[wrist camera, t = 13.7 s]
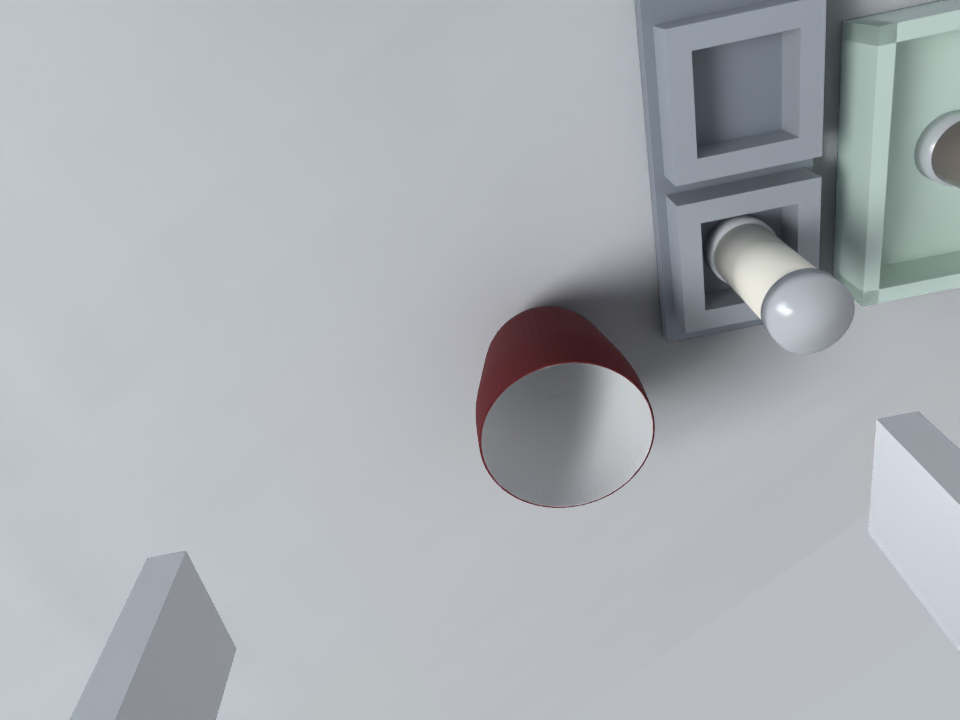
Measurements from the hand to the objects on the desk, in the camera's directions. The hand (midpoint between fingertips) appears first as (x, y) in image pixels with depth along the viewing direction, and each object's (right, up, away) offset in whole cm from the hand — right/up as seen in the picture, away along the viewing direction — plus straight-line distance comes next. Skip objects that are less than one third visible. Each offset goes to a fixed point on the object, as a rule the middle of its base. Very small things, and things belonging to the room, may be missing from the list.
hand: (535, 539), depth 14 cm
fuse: (+12, +9, +25) cm, 29 cm away
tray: (+23, +15, +24) cm, 36 cm away
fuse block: (+12, +13, +24) cm, 30 cm away
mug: (+3, +4, +29) cm, 29 cm away
